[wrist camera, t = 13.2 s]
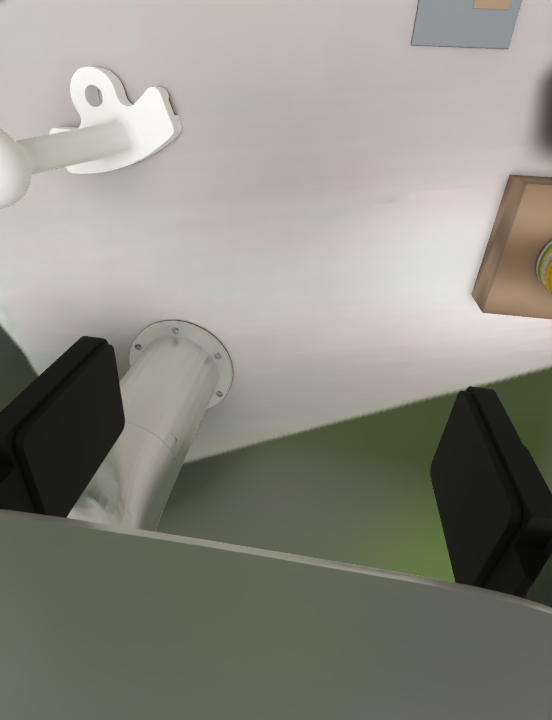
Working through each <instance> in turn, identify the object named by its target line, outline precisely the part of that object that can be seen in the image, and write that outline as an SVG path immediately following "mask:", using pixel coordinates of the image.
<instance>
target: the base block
mask: <svg viewBox="0 0 552 720" xmlns="http://www.w3.org/2000/svg"><path fill="white" fill-rule="evenodd" d="M551 241H552V178H550V177H534V176H519V175H510V176H509V179H508V182H507V186H506V189H505V192H504V195H503V198H502V201H501V204H500V208H499V211H498V214H497V217H496V220H495V223H494V226H493V229H492V233H491V236H490V239H489V242H488V245H487V248H486V251H485V254H484V258H483V261H482V264H481V267H480V270H479V273H478V276H477V280H476V283H475V286H474V289H473V292H472V296H473V298H474V299H475V301H476V303H477V304H478V306H479V308H480V309H481V311H482V312H483V313H492V314H502V315H513V316H523V317H534V318H544V319H552V293H551V292H550V291H548V290H547V289H546V288H545V287H544V286H543V284H542V283H541V282H540V280H539V279H538V276H537V271H536V266H537V261H538V258H539V256H540V254H541V252H542V250H543V249H544V248H545V247H546V245H547V244H548V243H549V242H551Z"/></svg>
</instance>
